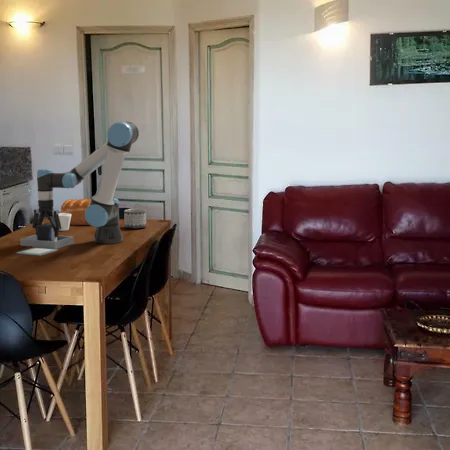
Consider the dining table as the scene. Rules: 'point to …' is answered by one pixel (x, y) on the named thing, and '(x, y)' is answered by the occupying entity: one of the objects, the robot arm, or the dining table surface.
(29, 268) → the dining table surface
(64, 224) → the cup
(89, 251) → the dining table surface
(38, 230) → the small box
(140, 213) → the planter
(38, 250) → the pad
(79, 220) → the bread
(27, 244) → the bin
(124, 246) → the dining table surface
